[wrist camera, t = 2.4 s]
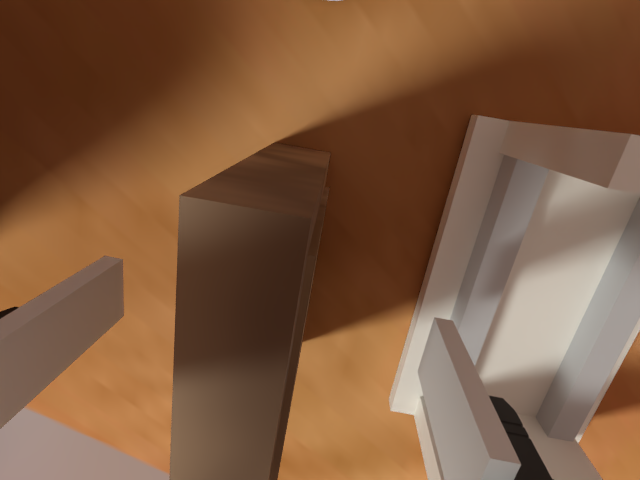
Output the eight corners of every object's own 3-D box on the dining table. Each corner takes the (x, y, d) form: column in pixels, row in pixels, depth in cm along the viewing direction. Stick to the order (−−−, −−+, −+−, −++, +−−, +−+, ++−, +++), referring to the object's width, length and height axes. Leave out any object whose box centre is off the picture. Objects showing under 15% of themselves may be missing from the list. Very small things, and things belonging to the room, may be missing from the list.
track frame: (388, 398, 25) (411, 551, 16) (471, 114, 19) (576, 124, 10) (569, 431, 25) (684, 600, 16) (712, 156, 19) (1018, 202, 10)
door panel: (251, 334, 24) (167, 541, 13) (274, 142, 20) (179, 195, 8) (301, 344, 24) (263, 558, 13) (335, 153, 20) (322, 220, 8)
